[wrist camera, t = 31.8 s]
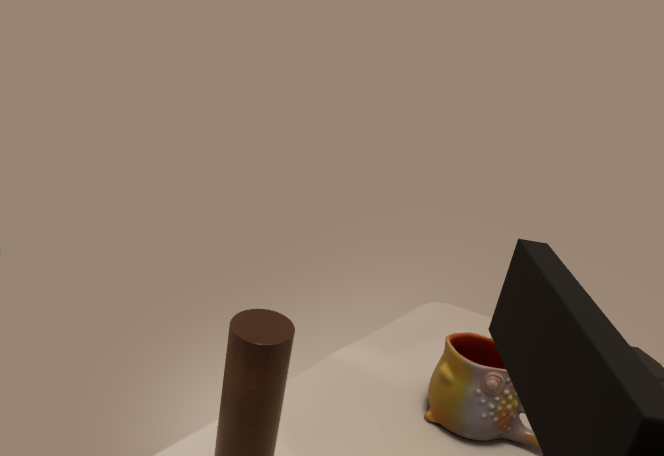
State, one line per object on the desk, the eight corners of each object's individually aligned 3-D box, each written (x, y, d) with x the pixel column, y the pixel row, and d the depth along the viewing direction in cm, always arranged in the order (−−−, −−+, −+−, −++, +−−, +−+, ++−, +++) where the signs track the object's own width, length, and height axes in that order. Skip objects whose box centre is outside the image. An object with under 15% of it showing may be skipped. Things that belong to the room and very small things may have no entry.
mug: (409, 415, 47) (428, 347, 45) (442, 378, 53) (461, 315, 50) (557, 497, 42) (587, 425, 39) (576, 445, 47) (604, 379, 45)
